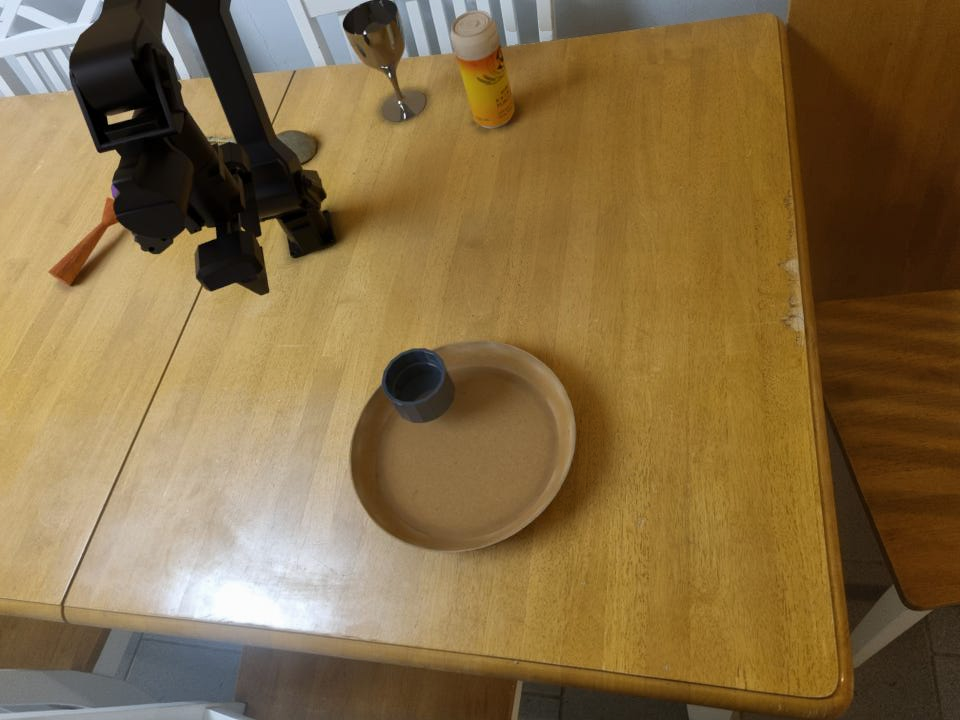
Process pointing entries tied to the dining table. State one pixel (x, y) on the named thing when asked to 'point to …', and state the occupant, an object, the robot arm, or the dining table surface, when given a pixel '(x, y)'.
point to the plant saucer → (467, 452)
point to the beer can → (482, 68)
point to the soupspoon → (288, 143)
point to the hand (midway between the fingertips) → (261, 263)
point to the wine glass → (383, 52)
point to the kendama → (84, 246)
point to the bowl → (418, 385)
